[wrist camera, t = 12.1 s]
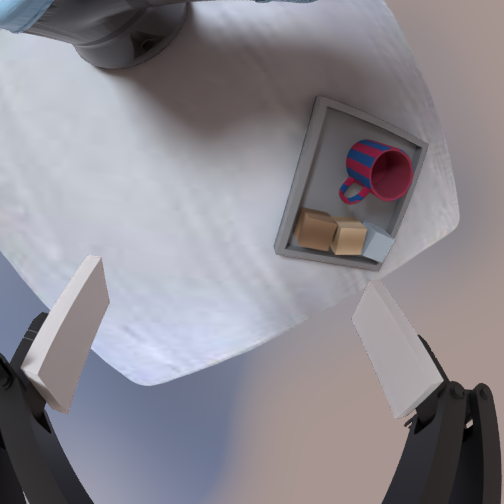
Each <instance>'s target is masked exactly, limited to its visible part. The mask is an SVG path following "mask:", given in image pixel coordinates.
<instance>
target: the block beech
mask: <svg viewBox="0 0 504 504" xmlns="http://www.w3.org/2000/svg"><path fill="white" fill-rule="evenodd" d="M331 217H332V218H333V219H334V221H335V222H336V223H337V227H336V230H335V233H334V235H333V238H332V240H331V243H330V247H331V249H332V250H333V252H334V253H335V255H361V252H362V248H363V244H364V240H365V236H366V232H367V228H366V227H365V226H364V225H363V224H362V223H361V222H360V221H359V220H358V219H357V218H356V217H340V216H331Z"/></svg>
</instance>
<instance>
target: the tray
mask: <svg viewBox="0 0 504 504" xmlns="http://www.w3.org/2000/svg"><path fill="white" fill-rule="evenodd" d="M366 139H367V140H373V141H377V142H380V143H383V144H386V145H389V146H392V147H395V148H398V149H401V150H403V151H404V152H405V153H406V154H407V155H408V156H409V158H410V159H411V162H412V165H413V180H412V184H411V186H410V188H409V190H408V191H407V192H406V194H405V195H404V196H403V197H401V198H400V199H398V200H395V201H390V202H387V201H383V200H380V199H379V198H377V197H376V196H374V195H373V194H372V193H369V194H368V195H367V196H366V197H365V198H364V199H363V200H362V201H360V202H359V203H356V204H353V205H348V204H345V203H344V202H343V201H342V200H341V198H340V196H339V189H340V187H341V186H342V184H343V183H344V182H345V181H346V180H347V178H348V177H350V176H349V174H348V172H347V169H346V158H347V154H348V152H349V150H350V149H351V147H352V146H353V145H354V144H355V143H357V142H359V141H361V140H366ZM428 145H429V144H427V143H426V142H424V141H422V140H420V139H418V138H417V137H415V136H413V135H411V134H409V133H407V132H405V131H403V130H401V129H399V128H397V127H395V126H393V125H391V124H389V123H387V122H385V121H383V120H381V119H378V118H376V117H374V116H372V115H370V114H367V113H365V112H363V111H360V110H358V109H355V108H353V107H350V106H348V105H345V104H343V103H340V102H337V101H335V100H332V99H329V98H326V97H323V96H317V97H316V99H315V103H314V107H313V111H312V114H311V118H310V122H309V125H308V129H307V133H306V136H305V140H304V144H303V147H302V151H301V154H300V158H299V162H298V165H297V169H296V172H295V176H294V179H293V183H292V186H291V190H290V193H289V197H288V200H287V203H286V207H285V210H284V214H283V217H282V221H281V224H280V227H279V231H278V234H277V237H276V241H275V244H274V249H275V252H276V254H277V255H284V256H290V257H296V258H302V259H308V260H314V261H320V262H326V263H332V264H339V265H345V266H351V267H357V268H363V269H369V270H375V271H379V270H380V268H381V266H382V264H383V262H384V260H385V259H384V260H383V262H382V263H381V262H378V261H376V260H373V259H370V258H368V257H365V256H363V255H362V254H361V255H335V253H334V252H333V250H332V249H331V247H330V246H329V248H328V251H324V250H319V249H313V248H308V247H302V246H300V245H299V243H298V241H297V239H296V237H295V235H294V233H293V232H294V229H295V226H296V223H297V220H298V216H299V213H300V210H301V207H305V208H310V209H314V210H319V211H323V212H327V213H328V214H329V215H330V216H340V217H356V218H357V219H358V220H359V221H360V222H361V223H362V224H363V222H364V220H365V221H367V222H370V223H372V224H374V225H376V226H378V227H380V228H383V229H384V230H385V231H386V232H387V233H388V234H389V235H390V236H391V237H392V238H393V239H394V238H395V236H396V234H397V231H398V229H399V227H400V224H401V222H402V219H403V217H404V214H405V212H406V209H407V207H408V204H409V202H410V199H411V196H412V194H413V191H414V188H415V185H416V183H417V180H418V177H419V174H420V171H421V168H422V165H423V162H424V159H425V155H426V152H427V149H428ZM362 188H363V187H361V186H360V185H358V184H357V183H353V184H352V185H351V186H350V187H349V188H348V189H347V190H346V192H345V194H344V197H346V198H350V197H353V196H355V195H356V194H358V193H359V192H360V191H361V190H362ZM385 258H386V257H385Z"/></svg>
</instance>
